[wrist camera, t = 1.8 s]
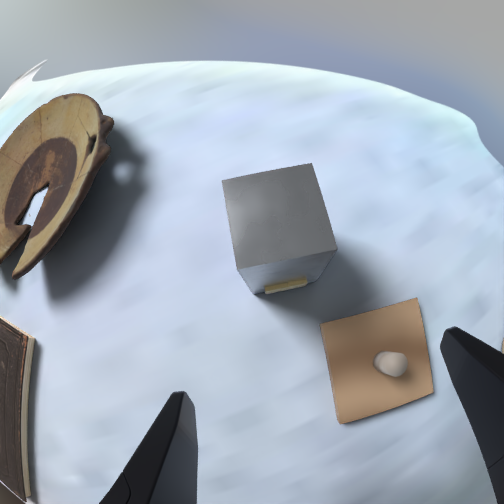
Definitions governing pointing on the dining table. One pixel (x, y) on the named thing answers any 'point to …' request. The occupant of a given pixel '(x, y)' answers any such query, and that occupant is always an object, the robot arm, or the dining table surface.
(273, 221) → the grey cardboard box
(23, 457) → the hardcover book
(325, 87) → the dining table surface
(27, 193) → the oil lamp
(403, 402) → the post base
